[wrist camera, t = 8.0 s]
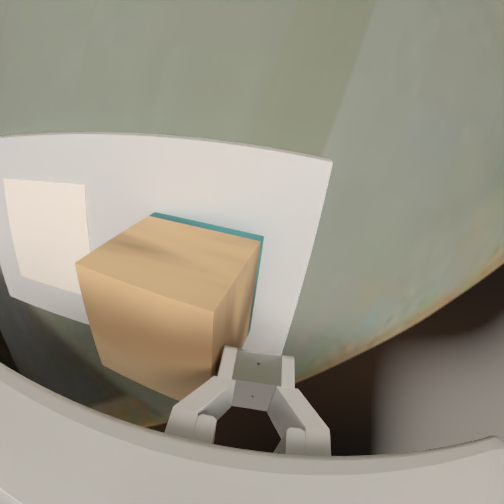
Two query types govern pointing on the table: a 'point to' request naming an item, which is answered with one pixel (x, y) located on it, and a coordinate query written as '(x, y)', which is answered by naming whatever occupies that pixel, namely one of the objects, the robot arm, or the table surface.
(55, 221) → the grey board
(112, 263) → the wood cube
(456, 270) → the table surface
